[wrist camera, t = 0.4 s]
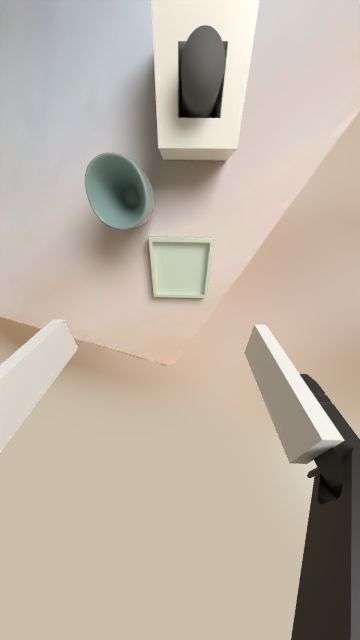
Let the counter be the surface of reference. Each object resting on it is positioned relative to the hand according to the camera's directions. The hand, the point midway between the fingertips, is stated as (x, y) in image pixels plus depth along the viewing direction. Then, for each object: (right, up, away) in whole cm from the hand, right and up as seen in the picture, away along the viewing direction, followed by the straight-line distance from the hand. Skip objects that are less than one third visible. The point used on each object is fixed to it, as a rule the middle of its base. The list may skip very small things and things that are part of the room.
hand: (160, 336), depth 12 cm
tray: (+2, +12, +23) cm, 27 cm away
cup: (-6, +23, +17) cm, 29 cm away
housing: (+4, +30, +11) cm, 33 cm away
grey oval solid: (+4, +29, +9) cm, 31 cm away
